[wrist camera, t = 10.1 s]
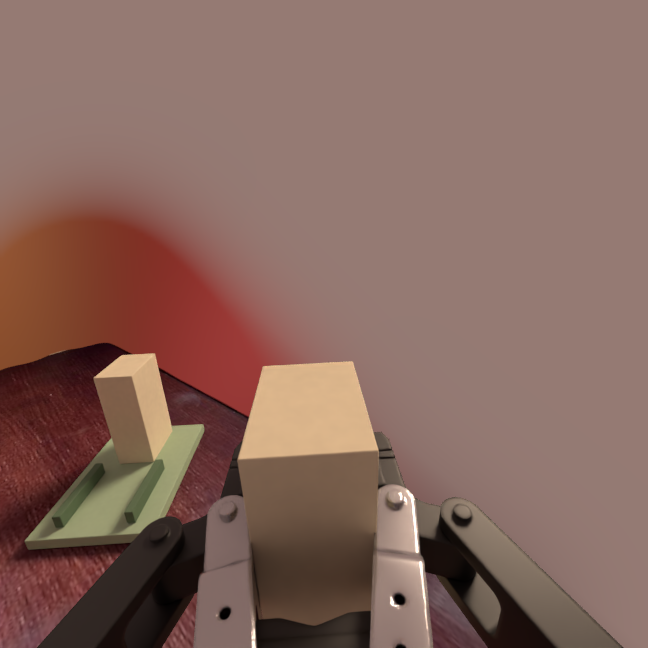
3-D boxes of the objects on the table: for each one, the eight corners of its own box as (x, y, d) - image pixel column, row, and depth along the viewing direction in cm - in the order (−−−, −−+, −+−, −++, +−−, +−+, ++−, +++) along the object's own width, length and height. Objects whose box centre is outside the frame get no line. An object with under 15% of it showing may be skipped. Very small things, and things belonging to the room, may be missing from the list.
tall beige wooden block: (354, 543, 16) (352, 360, 13) (373, 680, 12) (379, 451, 8) (283, 548, 16) (262, 365, 13) (273, 689, 11) (236, 460, 8)
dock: (204, 430, 40) (188, 347, 36) (154, 541, 27) (121, 429, 23) (120, 435, 40) (96, 352, 36) (27, 550, 26) (-27, 437, 23)
